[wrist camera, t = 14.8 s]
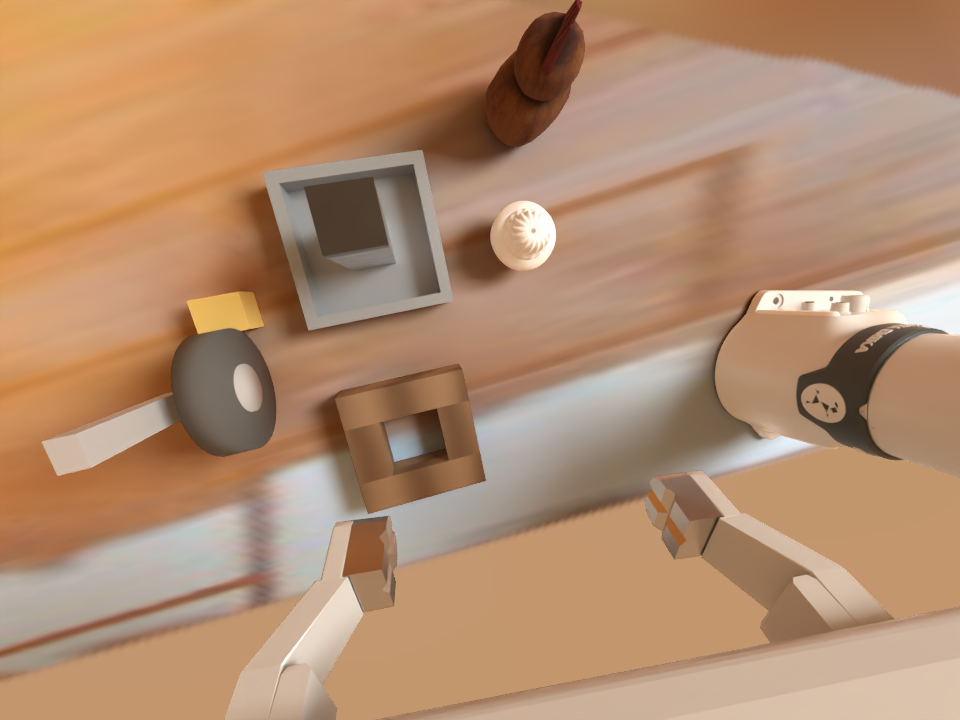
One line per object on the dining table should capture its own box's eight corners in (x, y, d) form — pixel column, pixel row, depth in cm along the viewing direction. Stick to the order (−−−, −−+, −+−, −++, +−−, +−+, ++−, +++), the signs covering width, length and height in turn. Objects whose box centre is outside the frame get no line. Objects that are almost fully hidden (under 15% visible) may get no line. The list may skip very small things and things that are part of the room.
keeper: (458, 363, 38) (462, 369, 35) (480, 467, 40) (485, 480, 37) (340, 390, 36) (334, 398, 33) (371, 497, 38) (367, 513, 36)
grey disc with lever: (253, 292, 33) (130, 287, 19) (294, 421, 36) (215, 506, 21) (174, 306, 32) (-20, 313, 18) (222, 438, 35) (87, 540, 20)
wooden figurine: (506, 169, 36) (573, 81, 21) (467, 118, 34) (509, -15, 20) (556, 123, 36) (657, 3, 21) (519, 70, 34) (599, -99, 20)
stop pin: (385, 219, 34) (372, 176, 22) (396, 262, 34) (388, 244, 23) (341, 226, 33) (303, 186, 21) (353, 270, 34) (322, 256, 22)
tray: (421, 162, 34) (422, 149, 31) (450, 300, 37) (453, 301, 34) (275, 183, 32) (262, 172, 29) (317, 327, 35) (308, 330, 32)
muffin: (485, 275, 37) (502, 270, 30) (480, 211, 36) (497, 191, 29) (543, 270, 38) (572, 264, 31) (540, 208, 37) (569, 188, 30)
